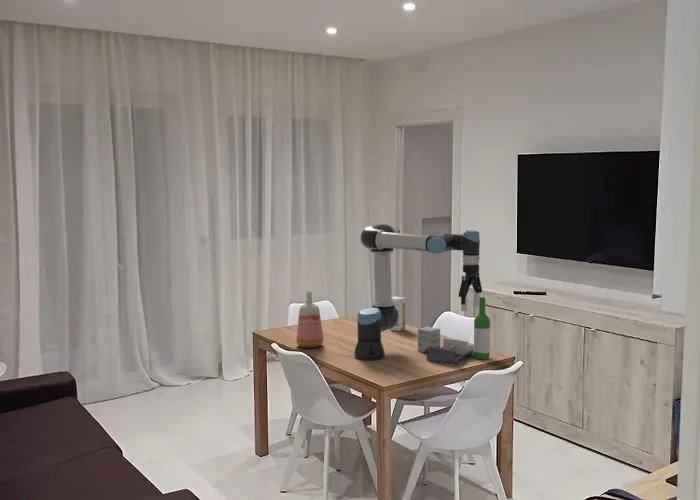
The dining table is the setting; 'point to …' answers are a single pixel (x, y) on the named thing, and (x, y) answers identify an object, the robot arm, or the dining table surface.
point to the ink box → (428, 338)
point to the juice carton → (400, 313)
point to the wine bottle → (482, 333)
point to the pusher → (456, 345)
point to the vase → (309, 325)
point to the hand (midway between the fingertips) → (470, 308)
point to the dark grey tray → (448, 355)
